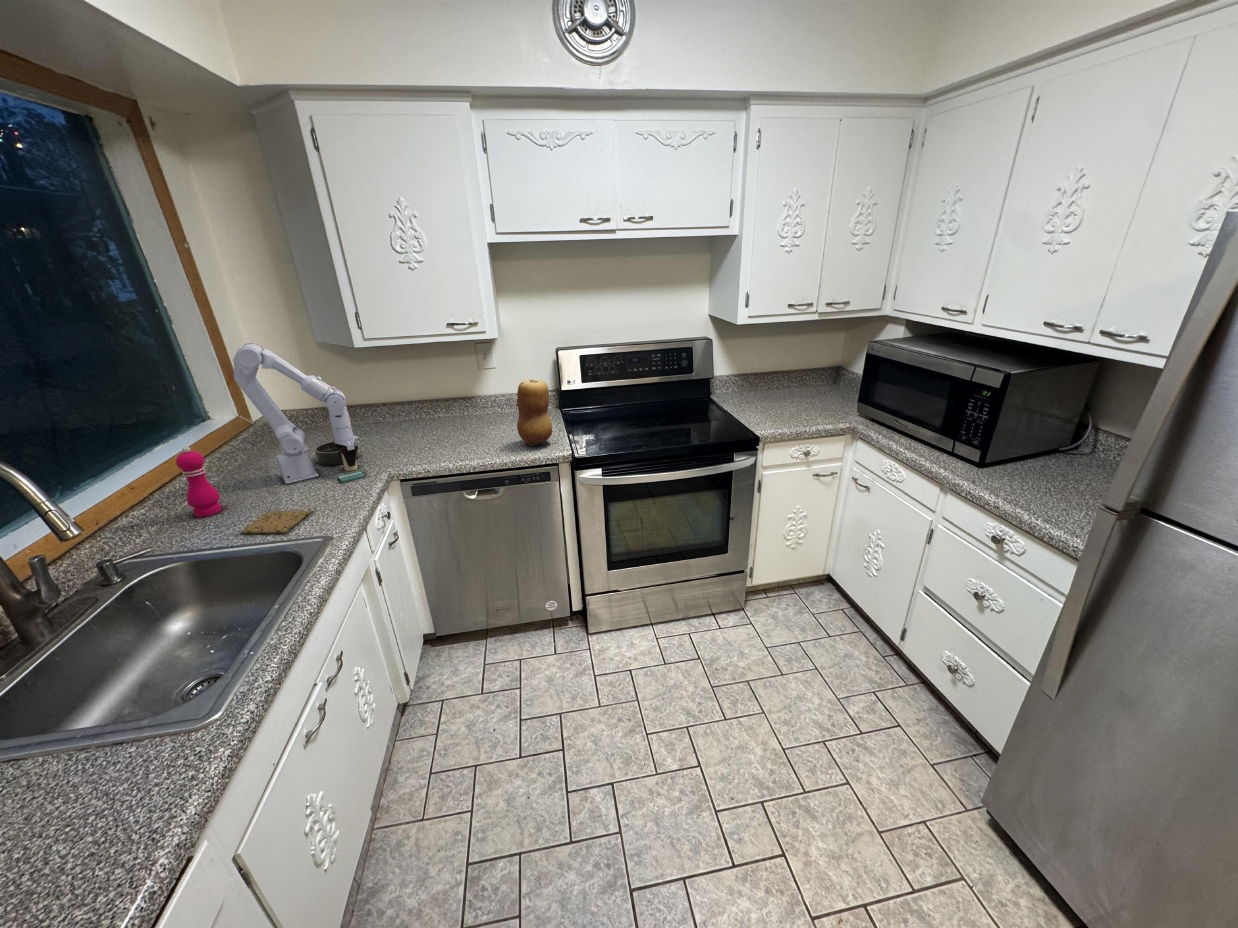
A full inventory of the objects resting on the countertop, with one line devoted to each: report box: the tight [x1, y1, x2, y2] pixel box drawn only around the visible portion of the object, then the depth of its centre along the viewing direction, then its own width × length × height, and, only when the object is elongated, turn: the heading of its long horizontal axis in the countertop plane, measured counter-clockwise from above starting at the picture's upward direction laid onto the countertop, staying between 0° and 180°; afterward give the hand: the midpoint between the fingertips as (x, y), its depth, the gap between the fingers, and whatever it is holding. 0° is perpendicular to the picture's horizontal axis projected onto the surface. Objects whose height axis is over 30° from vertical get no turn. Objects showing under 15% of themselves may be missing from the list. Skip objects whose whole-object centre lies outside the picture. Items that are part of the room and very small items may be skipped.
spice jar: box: [340, 451, 359, 472], centre depth 173 cm, size 4×4×7 cm
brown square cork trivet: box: [241, 510, 312, 535], centre depth 138 cm, size 12×12×1 cm
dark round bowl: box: [313, 440, 359, 466], centre depth 181 cm, size 13×13×5 cm
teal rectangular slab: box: [337, 470, 366, 483], centre depth 167 cm, size 7×5×1 cm
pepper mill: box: [175, 446, 223, 518], centre depth 141 cm, size 7×7×20 cm
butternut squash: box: [516, 378, 553, 447], centre depth 191 cm, size 14×13×25 cm
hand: (350, 464), depth 173 cm, fingers closed on spice jar, 4 cm apart
